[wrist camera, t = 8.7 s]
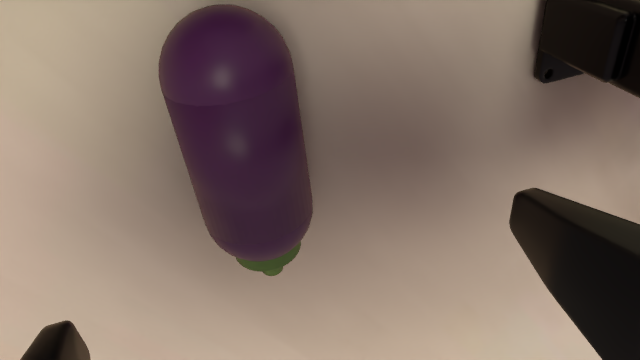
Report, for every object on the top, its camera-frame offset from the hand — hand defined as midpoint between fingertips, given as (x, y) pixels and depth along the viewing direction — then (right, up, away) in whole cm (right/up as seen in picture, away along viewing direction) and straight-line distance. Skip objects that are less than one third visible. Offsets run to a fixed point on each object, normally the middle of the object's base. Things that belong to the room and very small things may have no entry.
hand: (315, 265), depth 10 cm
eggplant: (-3, +4, +11) cm, 12 cm away
